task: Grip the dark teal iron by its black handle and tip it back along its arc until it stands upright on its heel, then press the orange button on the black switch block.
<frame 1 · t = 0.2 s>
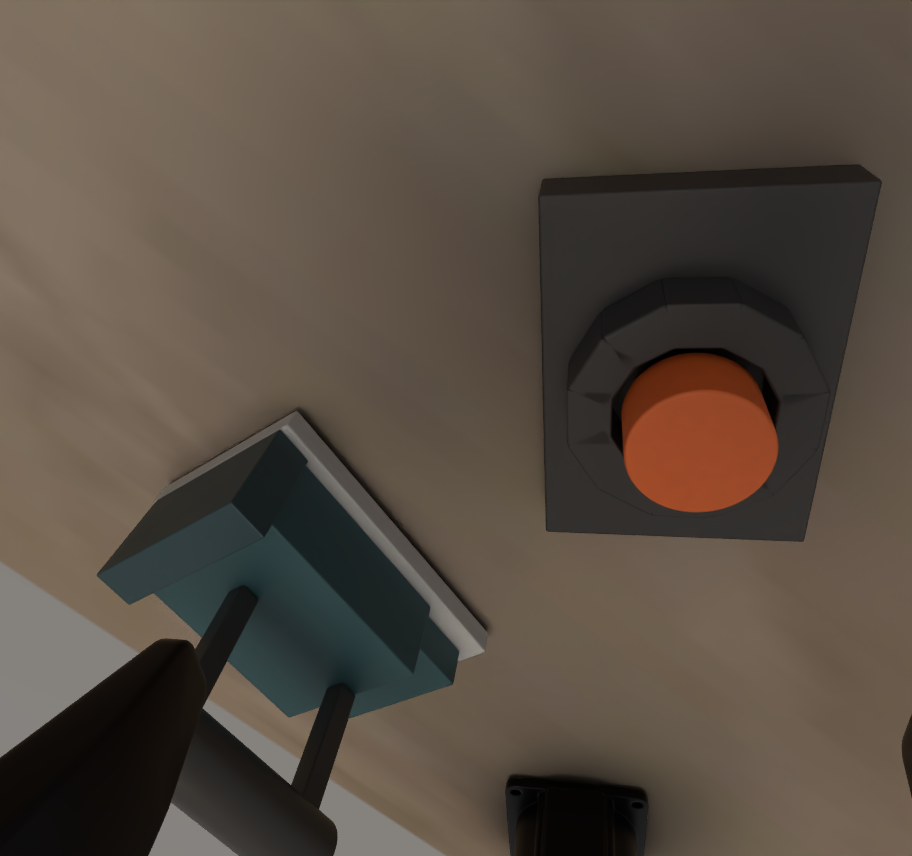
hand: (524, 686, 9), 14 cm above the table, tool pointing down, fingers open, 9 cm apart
switch block: (679, 359, 22), on the table
power button: (694, 432, 19), point 4 cm above the table, slide at 0.1 cm
iron: (283, 671, 24), point 5 cm above the table, hinge at -0.1°
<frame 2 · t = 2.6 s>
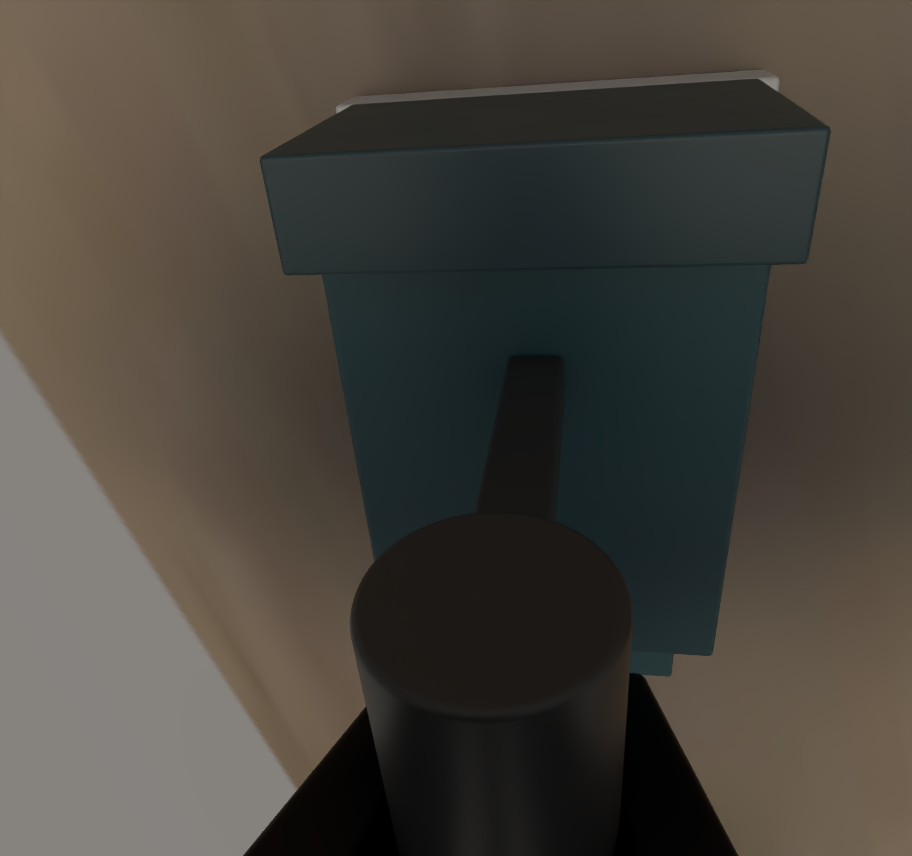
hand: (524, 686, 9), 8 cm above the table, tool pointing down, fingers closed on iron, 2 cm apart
iron: (535, 565, 11), point 5 cm above the table, hinge at -0.1°, touching gripper
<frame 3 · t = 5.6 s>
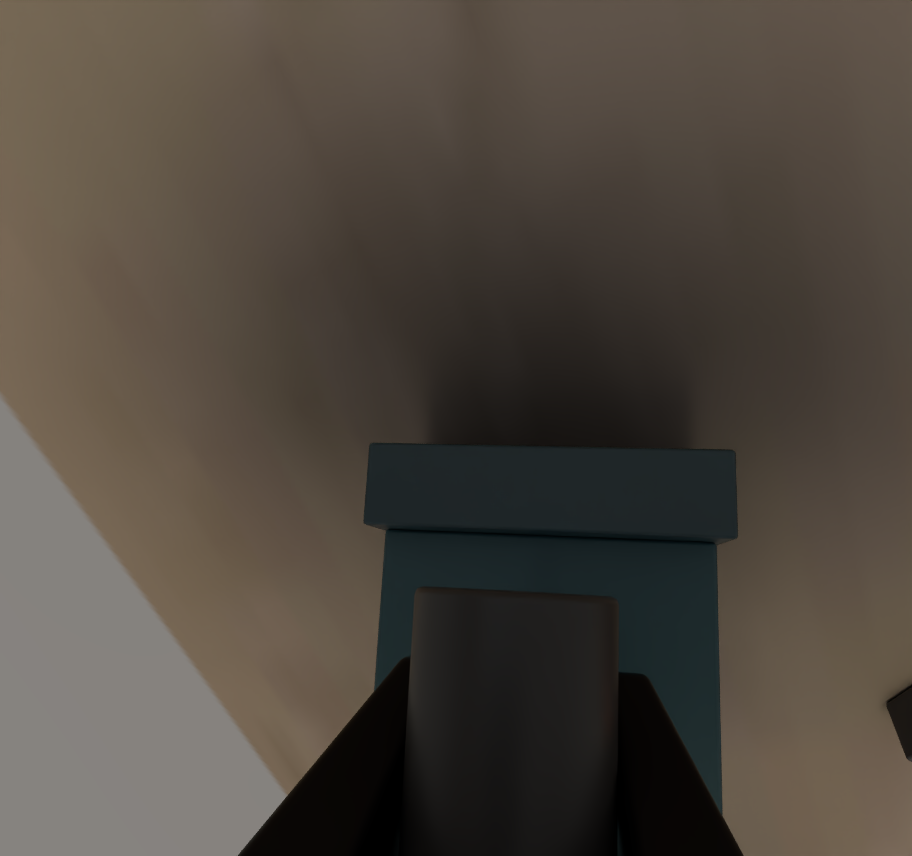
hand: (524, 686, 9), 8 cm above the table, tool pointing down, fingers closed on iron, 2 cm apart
iron: (532, 823, 11), point 8 cm above the table, hinge at 45.8°, touching gripper
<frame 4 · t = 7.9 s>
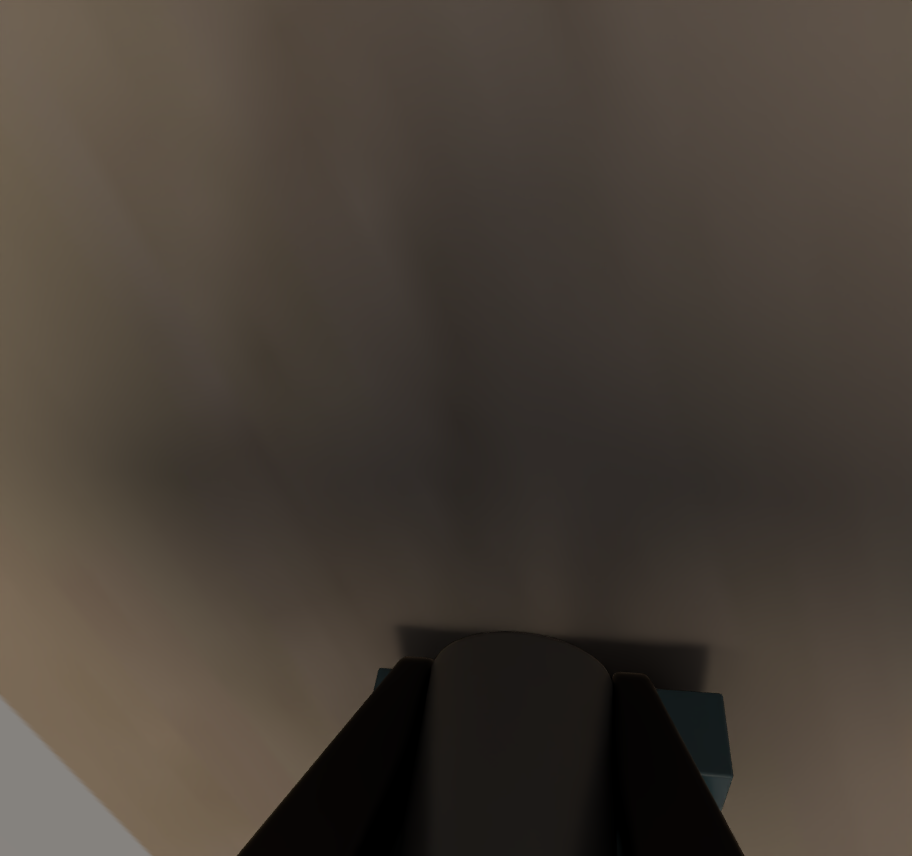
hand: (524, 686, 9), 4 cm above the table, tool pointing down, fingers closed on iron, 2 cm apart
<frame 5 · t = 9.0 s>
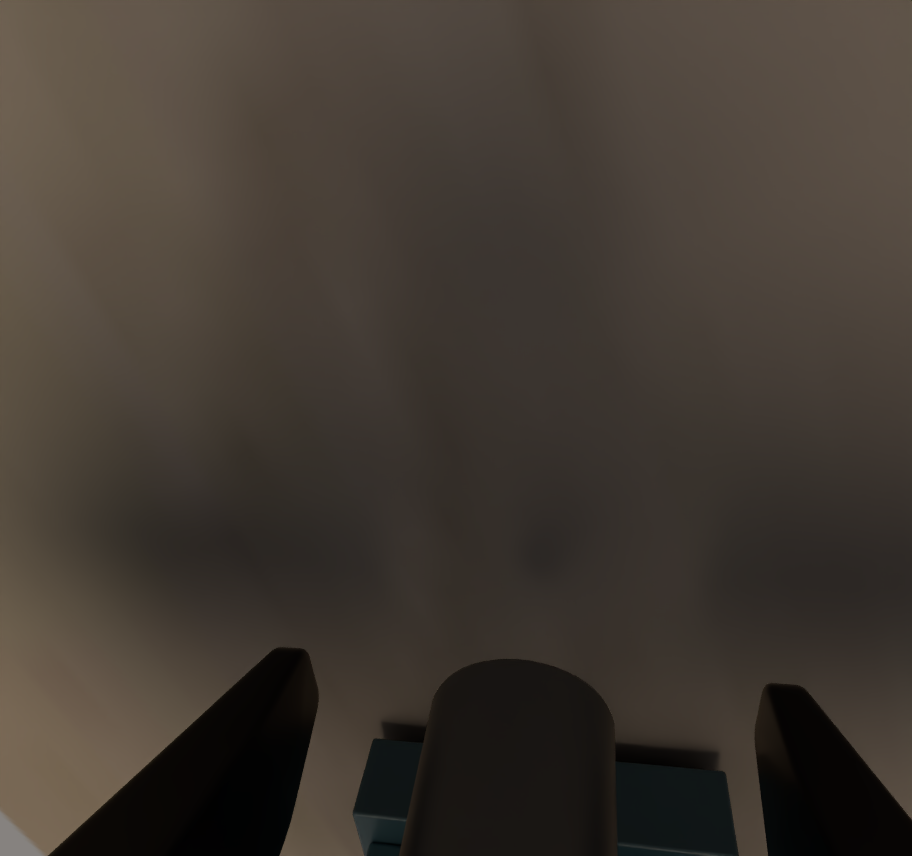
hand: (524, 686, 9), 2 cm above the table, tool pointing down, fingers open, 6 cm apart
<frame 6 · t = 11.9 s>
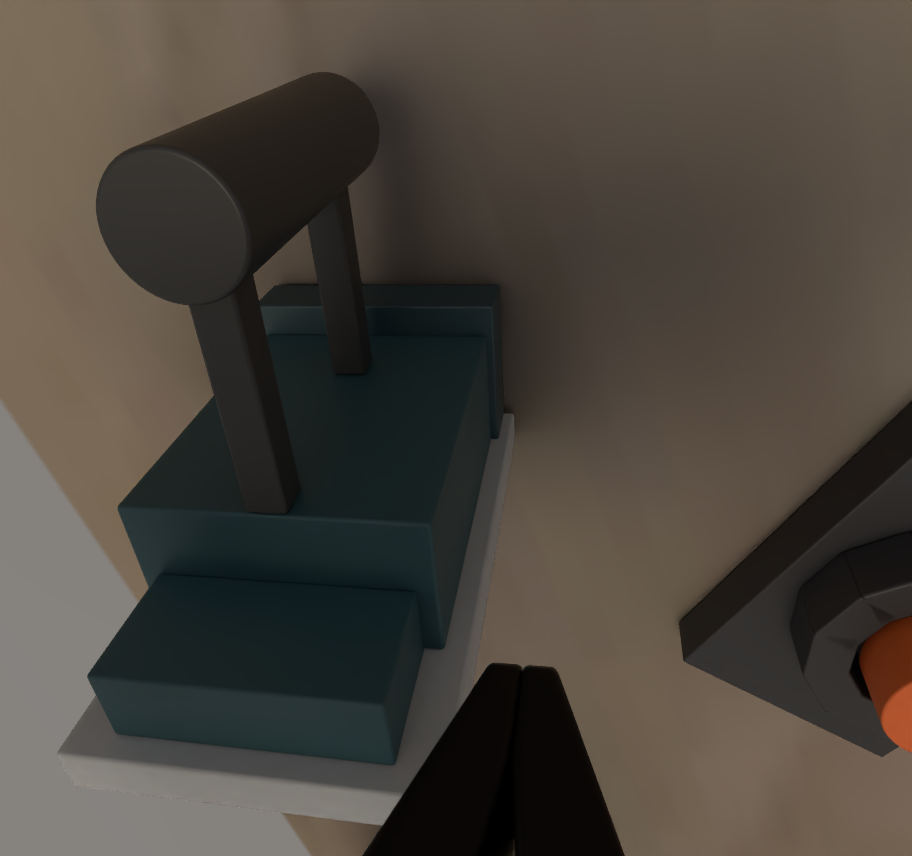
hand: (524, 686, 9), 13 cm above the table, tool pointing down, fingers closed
switch block: (892, 575, 23), on the table
iron: (310, 380, 15), point 6 cm above the table, hinge at 90.1°
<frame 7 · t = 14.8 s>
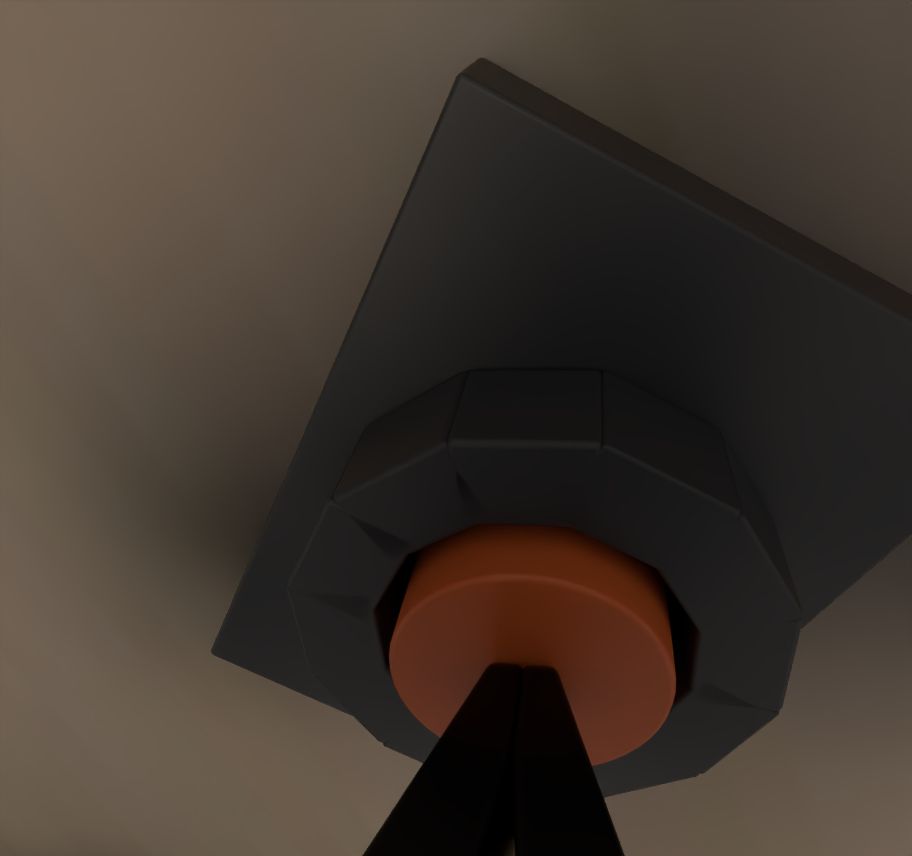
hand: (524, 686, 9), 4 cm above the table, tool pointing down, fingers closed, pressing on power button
switch block: (545, 491, 13), on the table
power button: (533, 623, 10), point 3 cm above the table, slide at -1.0 cm, touching gripper
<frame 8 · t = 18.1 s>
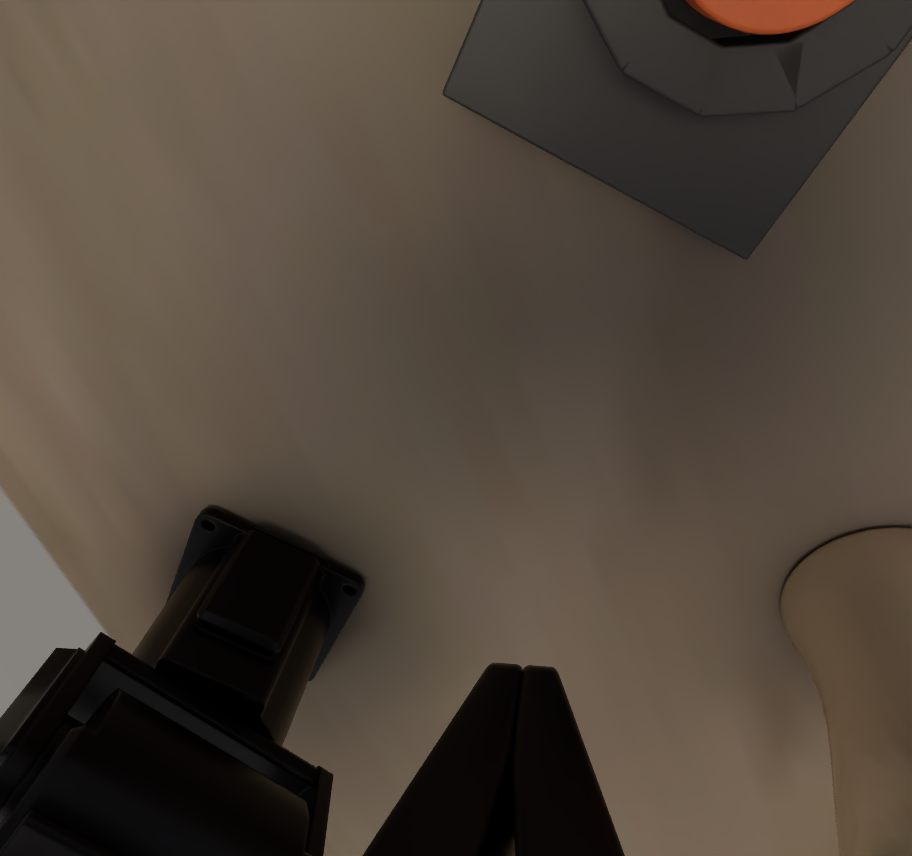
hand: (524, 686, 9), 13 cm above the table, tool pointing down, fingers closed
beer glass: (877, 594, 24), on the table
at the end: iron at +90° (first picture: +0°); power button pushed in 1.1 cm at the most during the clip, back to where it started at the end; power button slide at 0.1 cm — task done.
